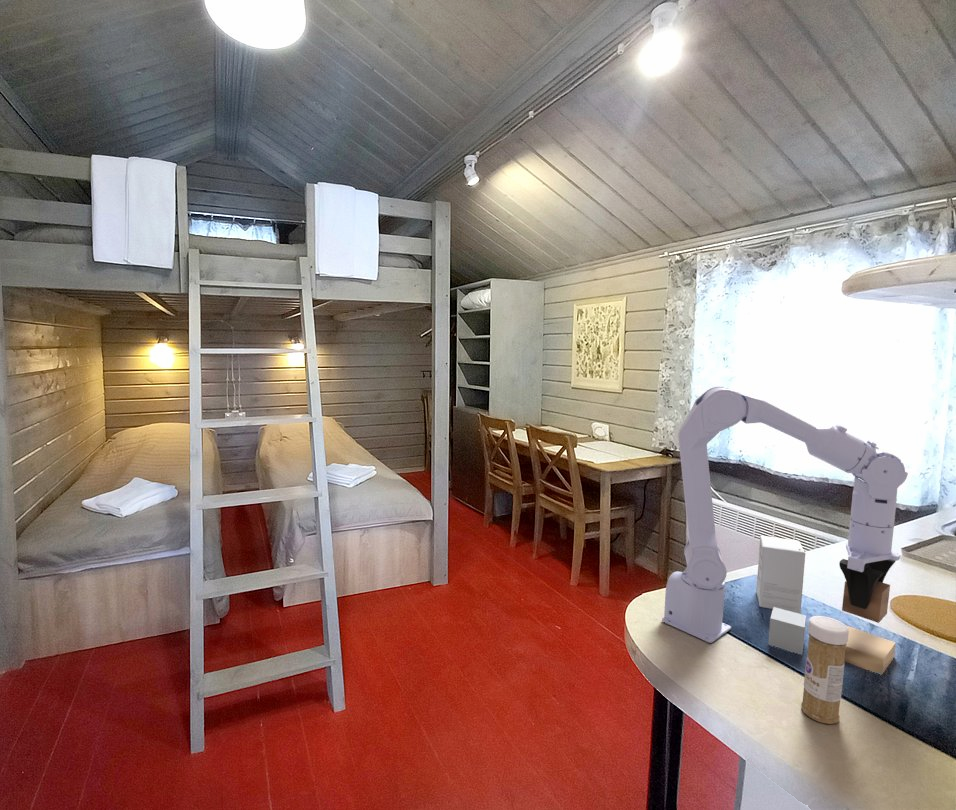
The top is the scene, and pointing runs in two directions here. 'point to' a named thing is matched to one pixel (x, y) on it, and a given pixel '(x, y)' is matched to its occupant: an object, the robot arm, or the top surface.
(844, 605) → the walnut cube
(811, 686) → the toothpick jar
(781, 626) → the light grey cube
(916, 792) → the top surface
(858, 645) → the oak base block
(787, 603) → the supplement box
